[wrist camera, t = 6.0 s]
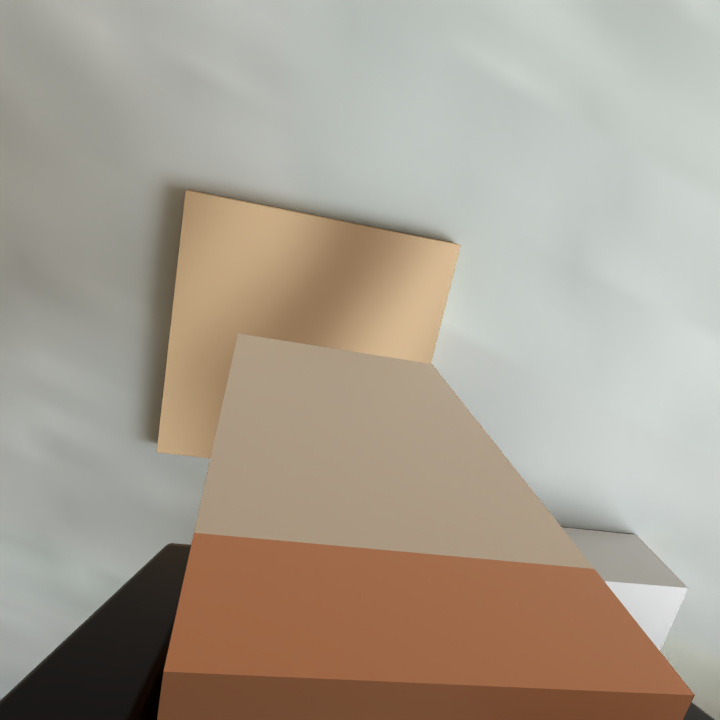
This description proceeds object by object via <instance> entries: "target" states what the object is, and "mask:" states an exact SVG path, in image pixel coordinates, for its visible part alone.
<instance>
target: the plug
mask: <svg viewBox="0 0 720 720" xmlns="http://www.w3.org/2000/svg"><path fill="white" fill-rule="evenodd" d="M694 696H695V695H694V694H693V692H692V691H691V690H690V689H689V687H688V686H687V685H686V684H685V682H684V681H683V680H682V679H681V677H680V676H679V675H678V674H677V672H676V671H675V670H674V669H673V667H672V666H671V665H670V663H669V662H668V661H667V660H666V658H665V657H664V656H663V655H662V653H661V652H660V651H659V650H658V648H657V647H656V646H655V645H654V643H653V642H652V641H651V639H650V638H649V637H648V636H647V634H646V633H645V632H644V631H643V629H642V628H641V627H640V626H639V624H638V623H637V622H636V621H635V619H634V618H633V617H632V616H631V614H630V613H629V612H628V610H627V609H626V608H625V607H624V605H623V604H622V603H621V602H620V600H619V599H618V598H617V597H616V595H615V594H614V593H613V592H612V590H611V589H610V588H609V587H608V585H607V584H606V583H605V581H604V580H603V579H602V578H601V576H600V575H599V574H598V573H597V571H596V570H595V569H594V568H593V566H592V565H591V564H590V563H589V561H588V560H587V559H586V557H585V556H584V555H583V554H582V552H581V551H580V550H579V549H578V547H577V546H576V545H575V544H574V542H573V541H572V540H571V539H570V537H569V536H568V535H567V534H566V532H565V531H564V530H563V528H562V527H561V526H560V525H559V523H558V522H557V521H556V520H555V518H554V517H553V516H552V515H551V513H550V512H549V511H548V510H547V508H546V507H545V506H544V504H543V503H542V502H541V501H540V499H539V498H538V497H537V496H536V494H535V493H534V492H533V491H532V489H531V488H530V487H529V486H528V484H527V483H526V482H525V481H524V479H523V478H522V477H521V475H520V474H519V473H518V472H517V470H516V469H515V468H514V467H513V465H512V464H511V463H510V462H509V460H508V459H507V458H506V457H505V455H504V454H503V453H502V452H501V450H500V449H499V448H498V446H497V445H496V444H495V443H494V441H493V440H492V439H491V438H490V436H489V435H488V434H487V433H486V431H485V430H484V429H483V428H482V426H481V425H480V424H479V422H478V421H477V420H476V419H475V417H474V416H473V415H472V414H471V412H470V411H469V410H468V409H467V407H466V406H465V405H464V404H463V402H462V401H461V400H460V399H459V397H458V396H457V395H456V393H455V392H454V391H453V390H452V388H451V387H450V386H449V385H448V383H447V382H446V381H445V380H444V378H443V377H442V376H441V375H440V373H439V372H438V371H437V370H436V368H435V367H434V366H433V364H428V363H422V362H416V361H409V360H403V359H397V358H390V357H384V356H378V355H371V354H365V353H359V352H352V351H346V350H340V349H333V348H327V347H321V346H314V345H308V344H302V343H295V342H289V341H283V340H276V339H270V338H264V337H257V336H251V335H245V334H238V336H237V341H236V345H235V350H234V354H233V359H232V363H231V368H230V372H229V377H228V381H227V386H226V390H225V395H224V399H223V404H222V409H221V413H220V418H219V422H218V427H217V431H216V436H215V440H214V445H213V449H212V454H211V458H210V463H209V467H208V472H207V477H206V481H205V486H204V490H203V495H202V499H201V504H200V508H199V513H198V517H197V522H196V526H195V531H194V535H193V540H192V545H191V549H190V554H189V558H188V563H187V567H186V572H185V576H184V581H183V585H182V590H181V594H180V599H179V603H178V608H177V613H176V617H175V622H174V626H173V631H172V635H171V640H170V644H169V649H168V653H167V658H166V662H165V667H164V671H163V679H162V686H161V694H160V701H159V709H158V716H157V720H683V719H684V716H685V714H686V712H687V710H688V708H689V706H690V704H691V702H692V700H693V698H694Z"/></svg>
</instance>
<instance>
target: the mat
mask: <svg viewBox="0 0 720 720" xmlns="http://www.w3.org/2000/svg"><path fill="white" fill-rule="evenodd" d="M460 246H461V245H458V244H456V243H452V242H447V241H442V240H437V239H432V238H427V237H422V236H417V235H412V234H406V233H401V232H396V231H391V230H386V229H381V228H376V227H371V226H366V225H361V224H356V223H351V222H346V221H341V220H336V219H331V218H326V217H321V216H316V215H311V214H306V213H301V212H296V211H291V210H286V209H281V208H276V207H271V206H266V205H261V204H256V203H251V202H246V201H241V200H236V199H231V198H226V197H221V196H216V195H211V194H206V193H201V192H196V191H191V190H186V192H185V201H184V210H183V219H182V228H181V237H180V246H179V255H178V264H177V273H176V282H175V291H174V300H173V309H172V318H171V327H170V336H169V345H168V354H167V363H166V372H165V381H164V390H163V399H162V408H161V417H160V426H159V435H158V444H157V452H159V453H168V454H177V455H186V456H195V457H204V458H211V454H212V449H213V445H214V440H215V436H216V431H217V427H218V422H219V418H220V413H221V409H222V404H223V399H224V395H225V390H226V386H227V381H228V377H229V372H230V368H231V363H232V359H233V354H234V350H235V345H236V341H237V336H238V334H245V335H251V336H257V337H264V338H270V339H276V340H283V341H289V342H295V343H302V344H308V345H314V346H321V347H327V348H333V349H340V350H346V351H352V352H359V353H365V354H371V355H378V356H384V357H390V358H397V359H403V360H409V361H416V362H422V363H428V364H431V361H432V357H433V353H434V349H435V345H436V341H437V337H438V333H439V330H440V326H441V322H442V318H443V314H444V310H445V306H446V302H447V298H448V294H449V290H450V286H451V282H452V278H453V274H454V270H455V266H456V262H457V258H458V254H459V250H460Z"/></svg>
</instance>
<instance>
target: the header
mask: <svg viewBox="0 0 720 720" xmlns="http://www.w3.org/2000/svg"><path fill="white" fill-rule="evenodd" d="M562 528H563V530H564V531H565V532H566V534H567V535H568V536H569V537H570V539H571V540H572V541H573V542H574V544H575V545H576V546H577V547H578V549H579V550H580V551H581V552H582V554H583V555H584V556H585V557H586V559H587V560H588V561H589V563H590V564H591V565H592V566H593V568H594V569H595V570H596V571H597V573H598V574H599V575H600V576H601V578H602V579H603V580H604V581H605V583H606V584H607V585H608V587H609V588H610V589H611V590H612V592H613V593H614V594H615V595H616V597H617V598H618V599H619V600H620V602H621V603H622V604H623V605H624V607H625V608H626V609H627V610H628V612H629V613H630V614H631V616H632V617H633V618H634V619H635V621H636V622H637V623H638V624H639V626H640V627H641V628H642V629H643V631H644V632H645V633H646V634H647V636H648V637H649V638H650V639H651V641H652V642H653V643H654V645H655V646H656V647H657V648H658V650H659V651H661V648H662V646H663V644H664V642H665V639H666V637H667V635H668V633H669V630H670V628H671V626H672V624H673V621H674V619H675V617H676V615H677V612H678V610H679V608H680V606H681V603H682V601H683V599H684V597H685V594H686V592H687V590H688V587H687V586H686V585H685V584H684V583H683V582H682V581H681V580H680V579H679V578H678V577H677V576H676V575H675V574H674V573H673V572H672V571H671V570H670V569H669V568H668V567H667V566H666V565H665V564H664V563H663V562H662V561H661V560H660V559H659V558H658V556H657V555H656V554H655V553H654V552H653V551H652V550H651V549H650V548H649V547H648V546H647V545H646V544H645V543H644V542H643V541H642V540H641V539H640V538H639V537H638V536H637V535H634V534H624V533H614V532H604V531H594V530H584V529H575V528H565V527H562Z"/></svg>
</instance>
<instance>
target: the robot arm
mask: <svg viewBox="0 0 720 720" xmlns="http://www.w3.org/2000/svg"><path fill="white" fill-rule="evenodd" d="M190 549H191V545H187V544H175V543H170V544H168V545H166V546H165V547H164V548H163V549H162V550H161V551H160V552H159V553H158V554H156V555H155V556H154V557H153V558H152V559H151V560H150V561H149V562H148V563H147V564H146V565H145V566H144V567H143V568H141V569H140V570H139V571H138V572H137V573H136V574H135V575H134V576H133V577H132V578H131V579H130V580H129V581H128V582H127V583H125V584H124V585H123V586H122V587H121V588H120V589H119V590H118V591H117V592H116V593H115V594H114V595H113V596H112V597H110V598H109V599H108V600H107V601H106V602H105V603H104V604H103V605H102V606H101V607H100V608H99V609H98V610H97V611H96V612H94V613H93V614H92V615H91V616H90V617H89V618H88V619H87V620H86V621H85V622H84V623H83V624H82V625H81V626H79V627H78V628H77V629H76V630H75V631H74V632H73V633H72V634H71V635H70V636H69V637H68V638H67V639H66V640H65V641H63V642H62V643H61V644H60V645H59V646H58V647H57V648H56V649H55V650H54V651H53V652H52V653H51V654H50V655H48V656H47V657H46V658H45V659H44V660H43V661H42V662H41V663H40V664H39V665H38V666H37V667H36V668H35V669H34V670H32V671H31V672H30V673H29V674H28V675H27V676H26V677H25V678H24V679H23V680H22V681H21V682H20V683H19V684H17V685H16V686H15V687H14V688H13V689H12V690H11V691H10V692H9V693H8V694H7V695H6V696H5V697H4V698H3V699H1V700H0V720H157V716H158V709H159V701H160V694H161V686H162V679H163V671H164V667H165V662H166V658H167V653H168V649H169V644H170V640H171V635H172V631H173V626H174V622H175V617H176V613H177V608H178V603H179V599H180V594H181V590H182V585H183V581H184V576H185V572H186V567H187V563H188V558H189V554H190ZM683 720H715V719H713V718H712V717H711V716H709V715H708V714H707V713H705V712H704V711H703V710H701V709H700V708H699V707H697V706H696V705H695V704H693V703H692V702H691V704H690V706H689V708H688V710H687V712H686V714H685V716H684V719H683Z"/></svg>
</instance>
